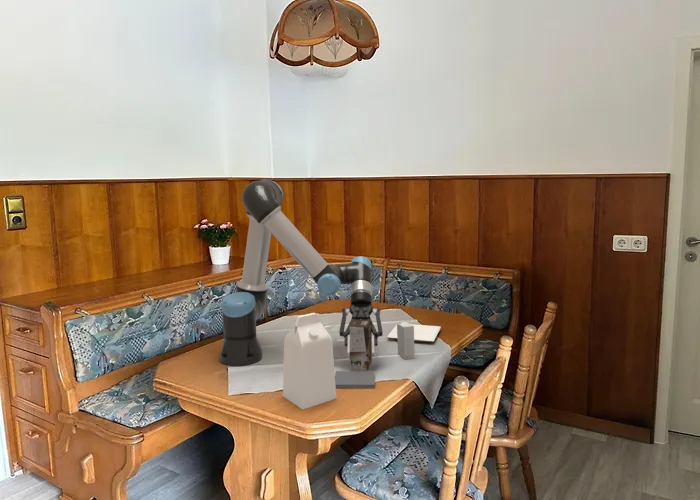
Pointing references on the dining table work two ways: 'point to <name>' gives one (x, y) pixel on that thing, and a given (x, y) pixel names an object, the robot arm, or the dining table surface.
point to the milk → (308, 363)
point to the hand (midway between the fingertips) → (360, 354)
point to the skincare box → (405, 340)
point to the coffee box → (360, 345)
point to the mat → (355, 379)
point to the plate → (419, 333)
